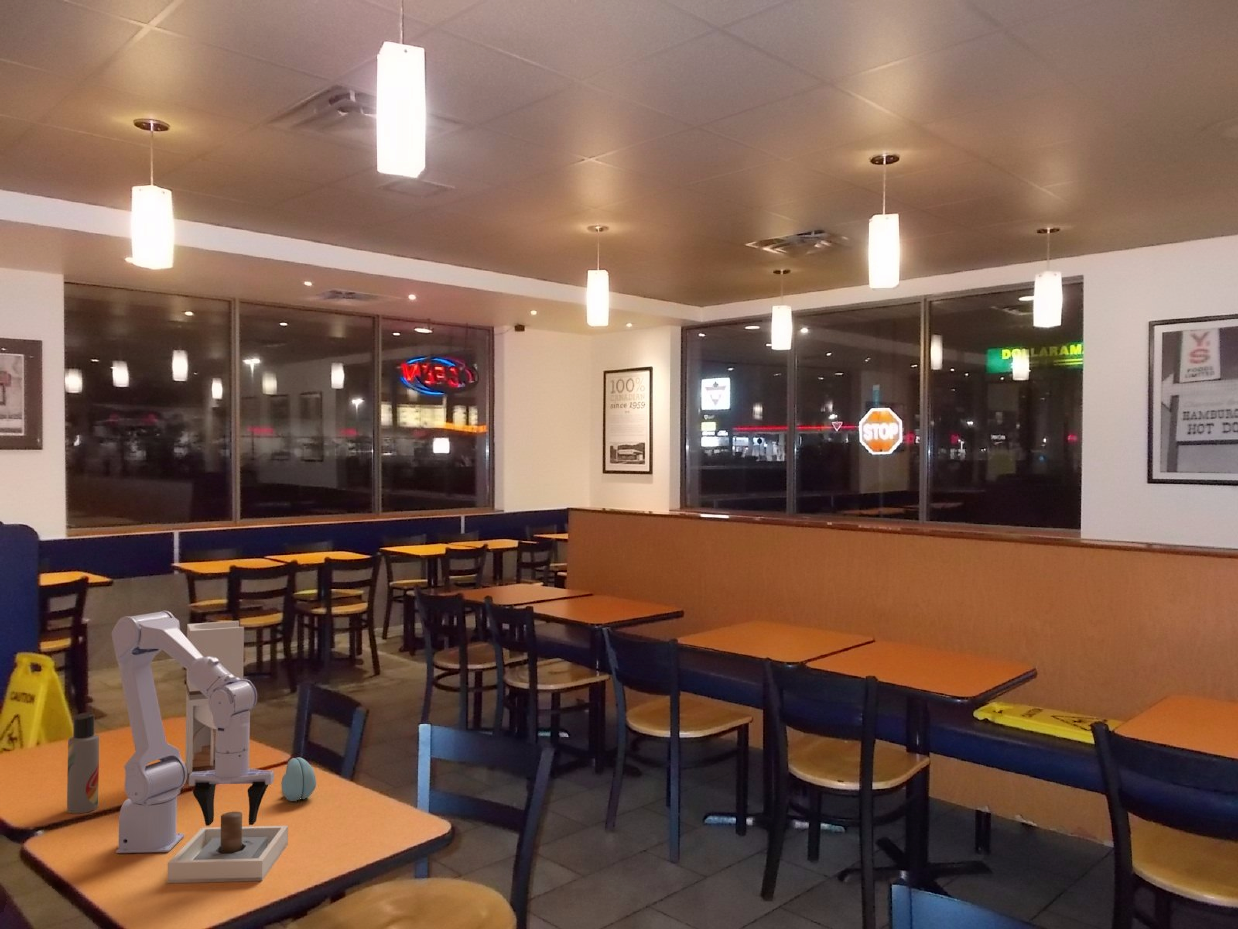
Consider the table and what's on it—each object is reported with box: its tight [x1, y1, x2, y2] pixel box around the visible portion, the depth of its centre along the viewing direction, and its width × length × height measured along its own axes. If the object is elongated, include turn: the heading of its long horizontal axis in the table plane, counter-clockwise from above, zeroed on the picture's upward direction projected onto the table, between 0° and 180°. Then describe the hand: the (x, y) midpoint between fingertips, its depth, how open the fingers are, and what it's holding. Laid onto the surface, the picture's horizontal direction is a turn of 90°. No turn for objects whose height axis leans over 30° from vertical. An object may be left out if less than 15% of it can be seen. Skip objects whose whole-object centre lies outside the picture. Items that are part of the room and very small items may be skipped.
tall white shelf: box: [184, 620, 245, 785], centre depth 216 cm, size 11×11×35 cm
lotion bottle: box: [66, 712, 100, 815], centre depth 193 cm, size 6×6×20 cm
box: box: [167, 825, 289, 884], centre depth 167 cm, size 16×16×4 cm
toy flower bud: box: [280, 756, 317, 802], centre depth 201 cm, size 7×9×12 cm
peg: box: [220, 811, 243, 854], centre depth 167 cm, size 4×4×8 cm
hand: (231, 823), depth 167 cm, fingers open, 7 cm apart
